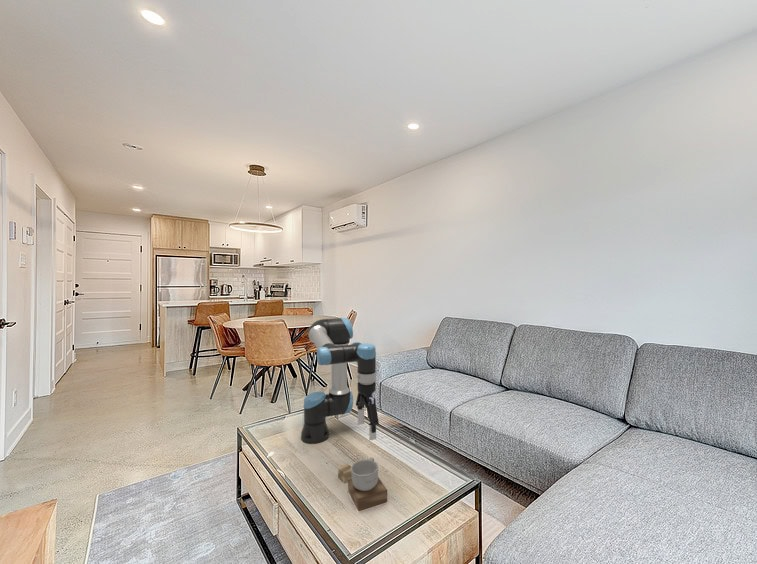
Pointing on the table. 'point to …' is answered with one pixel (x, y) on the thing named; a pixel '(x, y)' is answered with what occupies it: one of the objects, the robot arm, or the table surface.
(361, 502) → the pedestal block
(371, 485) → the teacup
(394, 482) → the table surface
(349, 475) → the oak cube
